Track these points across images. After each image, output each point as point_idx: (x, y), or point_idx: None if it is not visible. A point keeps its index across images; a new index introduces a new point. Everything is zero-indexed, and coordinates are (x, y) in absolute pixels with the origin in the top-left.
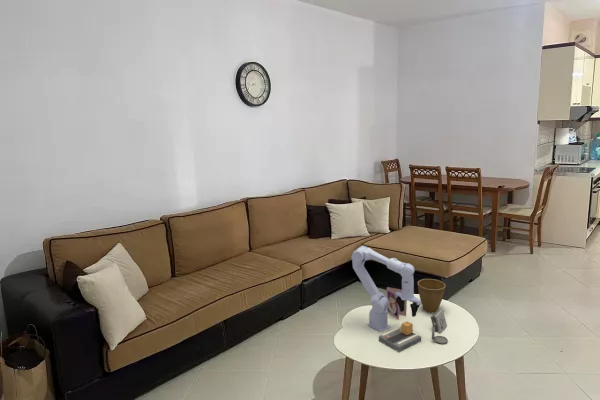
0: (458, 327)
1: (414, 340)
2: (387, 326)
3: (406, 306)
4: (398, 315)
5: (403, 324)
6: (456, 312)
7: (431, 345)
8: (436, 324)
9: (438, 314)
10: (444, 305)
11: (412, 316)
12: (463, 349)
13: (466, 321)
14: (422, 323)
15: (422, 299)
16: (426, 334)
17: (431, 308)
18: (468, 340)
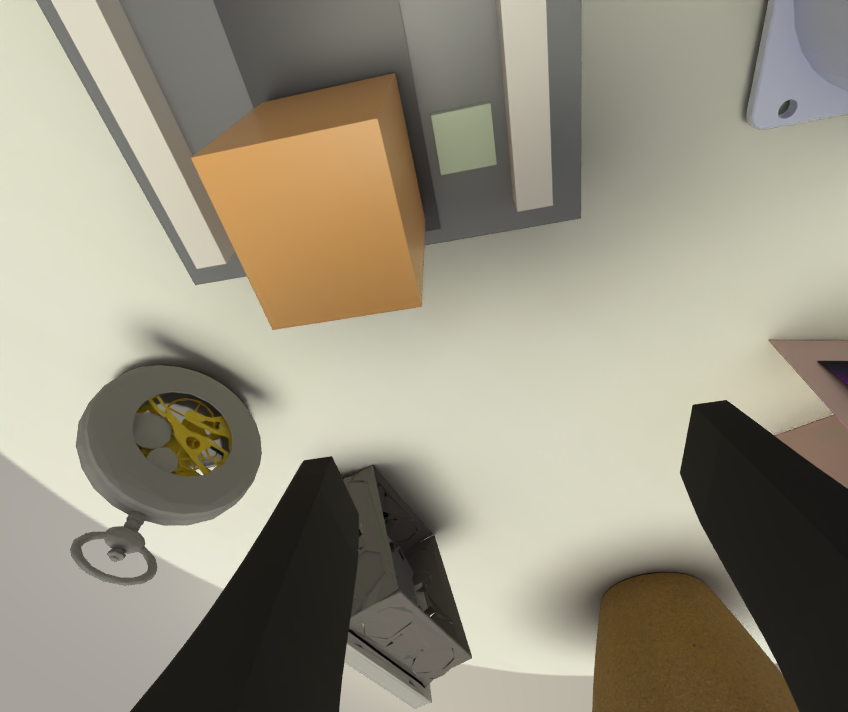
0: None
1: (112, 128)
2: (806, 61)
3: None
4: (820, 380)
5: (314, 132)
6: (514, 655)
7: (104, 292)
8: None
9: (348, 660)
10: None
11: (318, 461)
12: (14, 461)
13: None
14: (539, 468)
15: (735, 696)
16: (343, 385)
17: (621, 629)
18: (156, 544)
